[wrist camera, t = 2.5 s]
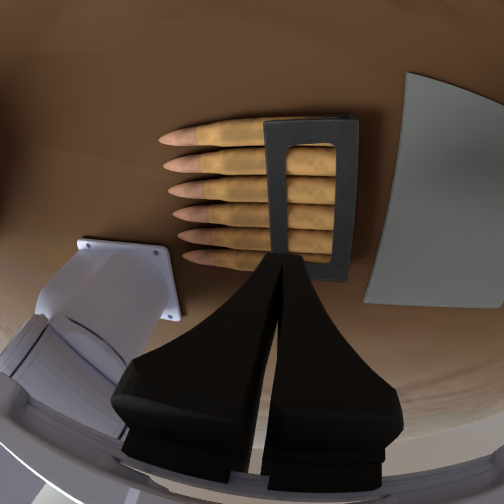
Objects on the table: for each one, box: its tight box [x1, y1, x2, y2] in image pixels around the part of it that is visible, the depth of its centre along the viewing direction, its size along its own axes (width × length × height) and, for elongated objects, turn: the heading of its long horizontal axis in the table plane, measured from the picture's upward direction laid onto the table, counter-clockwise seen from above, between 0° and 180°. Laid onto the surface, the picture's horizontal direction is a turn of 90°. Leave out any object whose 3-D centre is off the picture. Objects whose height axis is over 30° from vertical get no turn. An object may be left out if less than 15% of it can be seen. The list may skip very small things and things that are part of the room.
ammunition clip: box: [159, 115, 359, 283], centre depth 18 cm, size 11×2×12 cm
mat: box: [364, 73, 504, 308], centre depth 16 cm, size 15×17×1 cm
